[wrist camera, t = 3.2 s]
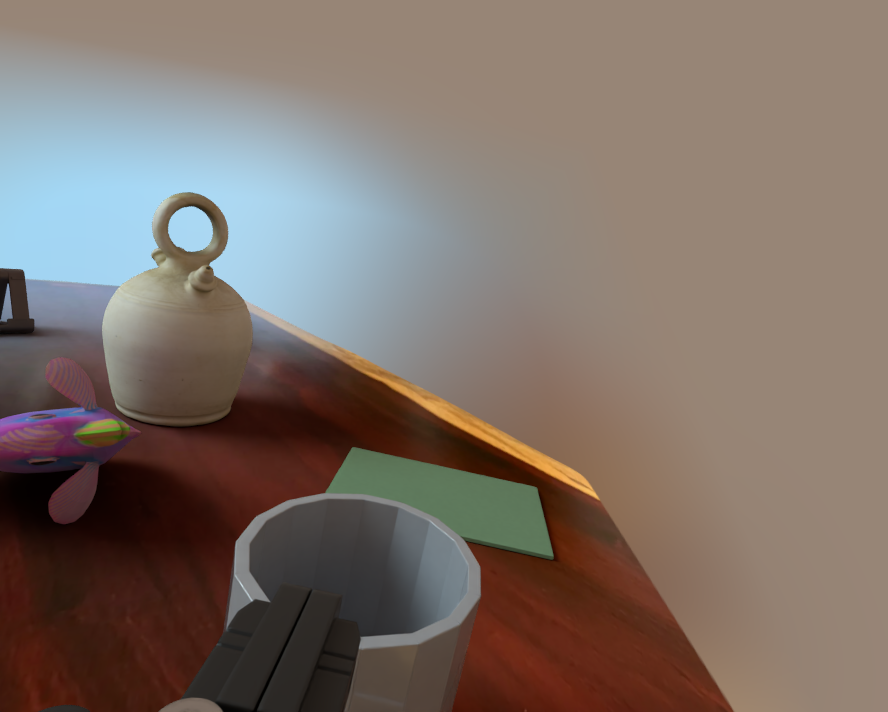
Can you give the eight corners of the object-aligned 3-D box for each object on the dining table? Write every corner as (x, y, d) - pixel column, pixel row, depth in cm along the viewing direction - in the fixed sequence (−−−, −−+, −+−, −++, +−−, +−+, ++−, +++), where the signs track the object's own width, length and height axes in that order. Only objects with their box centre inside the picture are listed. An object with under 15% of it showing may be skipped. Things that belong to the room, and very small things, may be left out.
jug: (108, 381, 68) (122, 177, 62) (239, 389, 74) (262, 205, 69) (84, 431, 54) (100, 176, 49) (247, 435, 61) (276, 211, 55)
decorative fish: (179, 343, 41) (-102, 337, 30) (188, 510, 39) (-105, 564, 29) (112, 378, 55) (-97, 383, 44) (117, 503, 53) (-99, 539, 43)
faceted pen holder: (435, 698, 32) (480, 519, 29) (416, 924, 21) (482, 676, 19) (259, 658, 32) (287, 476, 29) (153, 863, 22) (182, 609, 19)
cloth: (536, 490, 63) (536, 487, 63) (552, 560, 49) (554, 556, 49) (352, 449, 63) (352, 446, 63) (317, 508, 49) (318, 504, 49)
